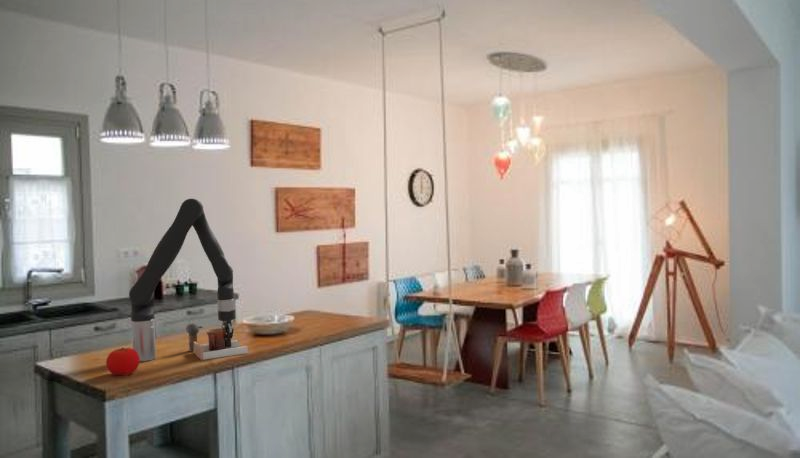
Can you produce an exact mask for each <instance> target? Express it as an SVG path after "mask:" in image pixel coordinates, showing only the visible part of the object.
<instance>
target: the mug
mask: <svg viewBox="0 0 800 458" xmlns="http://www.w3.org/2000/svg"><path fill="white" fill-rule="evenodd" d="M206 334H207V339H208V344H209V351H216V350H223V349H226V339H225V336H226V335H225V334H226V330H225V331H223V328H222V327H220V328H211V329H207V330H206ZM209 351H208V352H209Z"/></svg>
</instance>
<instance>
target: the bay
mask: <svg viewBox="0 0 800 458" xmlns="http://www.w3.org/2000/svg"><path fill="white" fill-rule="evenodd" d="M193 343H194V352H193V353H194V355H196V357H198V359H200V361H203V360H209V359H218V358H224V357H231V356H237V355H238V356H239V355H244V354H248V353H249V352H248V346H247V345H246V346H240V342H239V340H235V339H234V340H231V347H229V348H227V347H226V349H223V350H216V351H209V343H206V344H199V343H198V341H197V342H196V341H195V342H193Z"/></svg>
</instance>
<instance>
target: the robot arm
mask: <svg viewBox="0 0 800 458" xmlns="http://www.w3.org/2000/svg"><path fill="white" fill-rule="evenodd" d="M192 227H193V229H194V230H195V233H196V235H197V237H198V239H199V242H200V245H201V247H202V249H203V251H204V253H205V256H206V257H207V259H208V261H209V262H210V265H211V267H212V269H213V272H214V273H215V276H216V278H217V291H216V292H217V293H216V294H217V319H218V321H220V322H222V324H221V325H220V326H221V327H220V328H223V331H225V330H226V334H225V335H226V336H225V339H226V347H227V349H230V348H229V347H231V341H232V339H233V335H234V330H235V329H234V328H233V327H234V325H233V323H232V321H233V320H235V319H236V317H237V315H236V304H235V303H236V302H235V291H234V290H235V289H234V270H233V268H232V266H231V265H230V264H229V262H228V260H227V259H226V258H225V253H224V251H223V249H222V246H221V245H220V242H219V241H218V239H217V237H216V236H215V234H214V233H213V231H212V229H211V227H210V225H209V223H208V220H207V218H206V214H205V211H204V205H203V204H202V202H201V201H200V200H198V199H196V198H187V199H185V200H184V201H183V202H182V203H181V205H180V206H179V210H178V211H177V214H176V216H175V218H174V220H173V222H172V224H171V225H170V227H168V229H167V231H166V232H165V233H164V235H163V236H162V237H161V239H160V241H158V243H157V245H156V247H155V249H154V250H153V252H152V254H151V255H150V258H149V260H148V261H147V262H148V263H147V264H146V267H145V269H144V270H143V272H142V274H141V275H140V277H139V278H138V279H137V280H136V282H135V283H134V285H133V286H132V287H131V288H130V290H129V293H128V297H129V300H130V302H131V313H130V320H131V321H130V322H131V323H130V324H131V339H130V340H131V349H134V350H136V351H137V353H138V355H139V359H140V362H149V361H152V360H154V359H156V358H157V351H156V326H155V325H156V323H155V309H156V308H155V290H156V288H157V286H158V284H159V282H160V280H161V279H162V277H163V276H164V275H165V273H167V272H168V270H169V268H170V267H171V266H172V264H173V263H174V261H175V260H176V258H177V257H178V255H179V253H180V251H181V249H182V248H183V245H184V243H185V240H186V237H187V235H188V233H189V231H190V229H192ZM148 360H149V361H148Z"/></svg>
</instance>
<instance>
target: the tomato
mask: <svg viewBox="0 0 800 458" xmlns="http://www.w3.org/2000/svg"><path fill="white" fill-rule="evenodd" d="M140 362H141V361H140V359H139V355H138V353H137V351H136V350H134V349H132V348H131V347H127V348H125V347H121V348H118V349H114V350H113V351H111V352H110V353H109V354H108V355H107V358H106V361H105V364H106V368H107V370H108V371H109V372H110V373H111V374H113V375H117V376H126V375H125V374H127V375H130V373H131V374H132V373H135V372H136V370H137V369H138V368H139V365H140Z"/></svg>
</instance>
